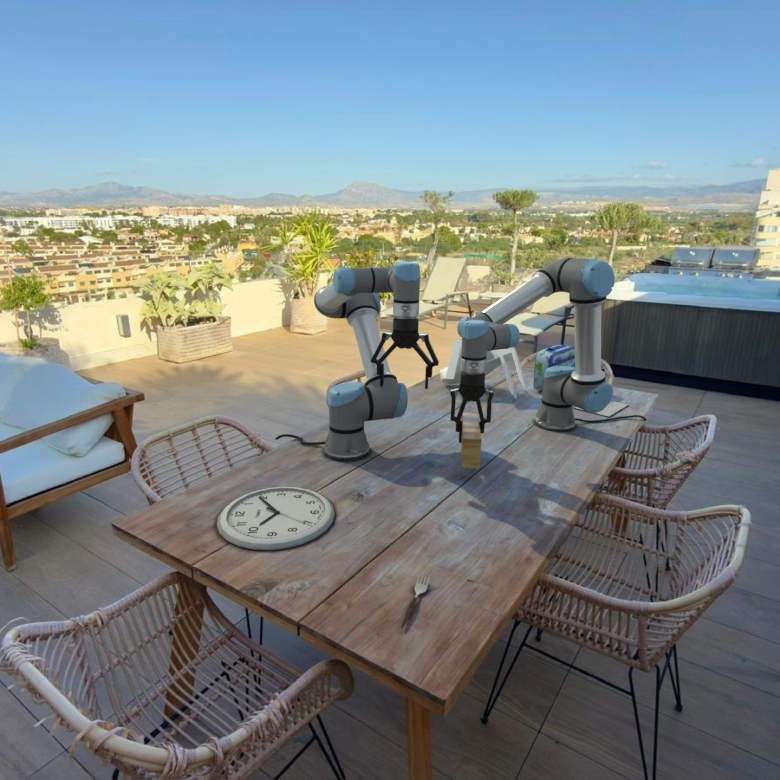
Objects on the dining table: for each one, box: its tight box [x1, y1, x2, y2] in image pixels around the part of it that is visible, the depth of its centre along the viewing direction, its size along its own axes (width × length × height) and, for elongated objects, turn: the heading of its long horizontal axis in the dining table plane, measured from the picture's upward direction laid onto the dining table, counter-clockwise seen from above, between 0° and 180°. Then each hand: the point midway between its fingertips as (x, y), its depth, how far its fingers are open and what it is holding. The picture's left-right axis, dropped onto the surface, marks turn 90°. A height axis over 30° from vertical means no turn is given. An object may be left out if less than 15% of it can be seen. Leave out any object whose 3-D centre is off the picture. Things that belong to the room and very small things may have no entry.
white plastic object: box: [438, 338, 531, 400], centre depth 245 cm, size 37×45×31 cm
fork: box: [400, 570, 431, 629], centre depth 106 cm, size 3×16×2 cm, turn 160°
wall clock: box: [216, 486, 336, 551], centre depth 136 cm, size 30×2×30 cm
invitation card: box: [573, 400, 629, 418], centre depth 226 cm, size 21×1×15 cm
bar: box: [460, 412, 482, 469], centre depth 159 cm, size 22×5×9 cm, turn 173°
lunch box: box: [533, 344, 575, 392], centre depth 247 cm, size 26×11×21 cm, turn 134°
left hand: (404, 386), depth 159 cm, fingers open, 13 cm apart
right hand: (469, 441), depth 167 cm, fingers closed on bar, 5 cm apart
